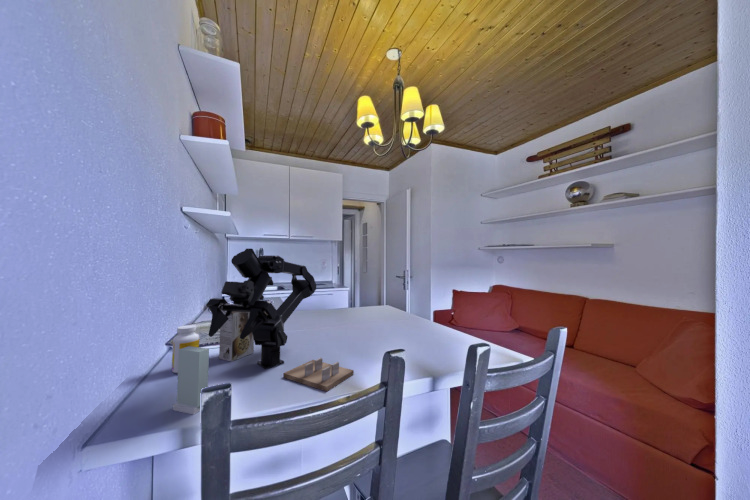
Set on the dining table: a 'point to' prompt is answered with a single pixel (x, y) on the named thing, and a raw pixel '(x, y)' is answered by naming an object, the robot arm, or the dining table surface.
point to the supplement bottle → (183, 342)
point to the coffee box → (235, 338)
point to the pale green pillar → (191, 378)
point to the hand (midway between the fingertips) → (225, 337)
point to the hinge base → (319, 374)
